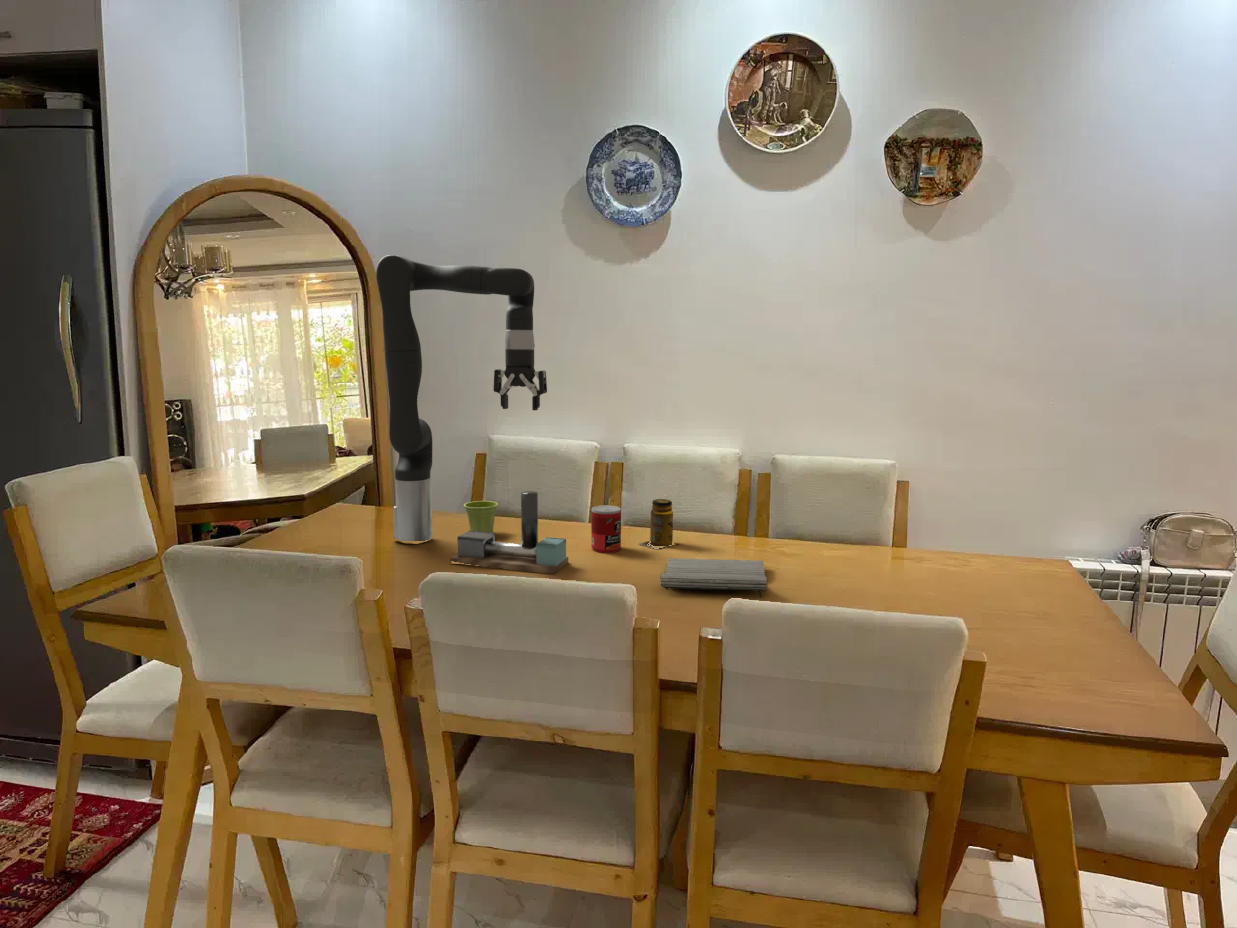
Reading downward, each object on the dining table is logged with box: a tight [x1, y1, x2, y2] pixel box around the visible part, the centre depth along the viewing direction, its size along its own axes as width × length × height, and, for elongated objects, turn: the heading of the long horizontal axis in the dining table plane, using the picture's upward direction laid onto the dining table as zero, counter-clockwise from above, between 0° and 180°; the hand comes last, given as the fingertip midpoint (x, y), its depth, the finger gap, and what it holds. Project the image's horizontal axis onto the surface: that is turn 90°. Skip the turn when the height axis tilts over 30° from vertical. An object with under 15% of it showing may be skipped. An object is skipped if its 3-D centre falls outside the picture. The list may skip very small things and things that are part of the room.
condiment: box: [638, 498, 674, 550], centre depth 220 cm, size 7×8×12 cm
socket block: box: [536, 536, 567, 566], centre depth 198 cm, size 5×7×5 cm
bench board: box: [450, 553, 569, 575], centre depth 202 cm, size 27×10×2 cm, turn 73°
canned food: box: [590, 504, 622, 554], centre depth 215 cm, size 8×8×11 cm
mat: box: [659, 557, 768, 598], centre depth 189 cm, size 23×24×5 cm
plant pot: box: [463, 500, 499, 533], centre depth 230 cm, size 9×9×9 cm
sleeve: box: [457, 530, 496, 559], centre depth 204 cm, size 7×6×5 cm
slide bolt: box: [485, 490, 539, 559], centre depth 200 cm, size 20×4×16 cm, turn 73°
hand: (520, 409), depth 217 cm, fingers open, 8 cm apart
